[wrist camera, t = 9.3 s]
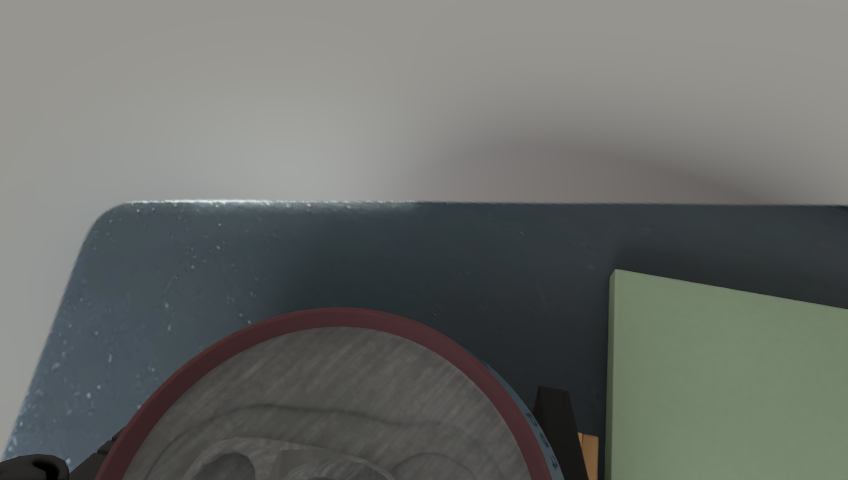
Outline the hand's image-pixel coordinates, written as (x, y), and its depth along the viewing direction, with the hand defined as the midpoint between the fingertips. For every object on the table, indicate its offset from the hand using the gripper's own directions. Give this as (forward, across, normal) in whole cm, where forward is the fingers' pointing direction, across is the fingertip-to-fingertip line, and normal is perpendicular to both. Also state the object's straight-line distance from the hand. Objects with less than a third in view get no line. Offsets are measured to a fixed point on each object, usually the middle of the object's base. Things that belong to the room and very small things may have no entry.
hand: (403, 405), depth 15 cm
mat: (+17, +18, -6) cm, 26 cm away
